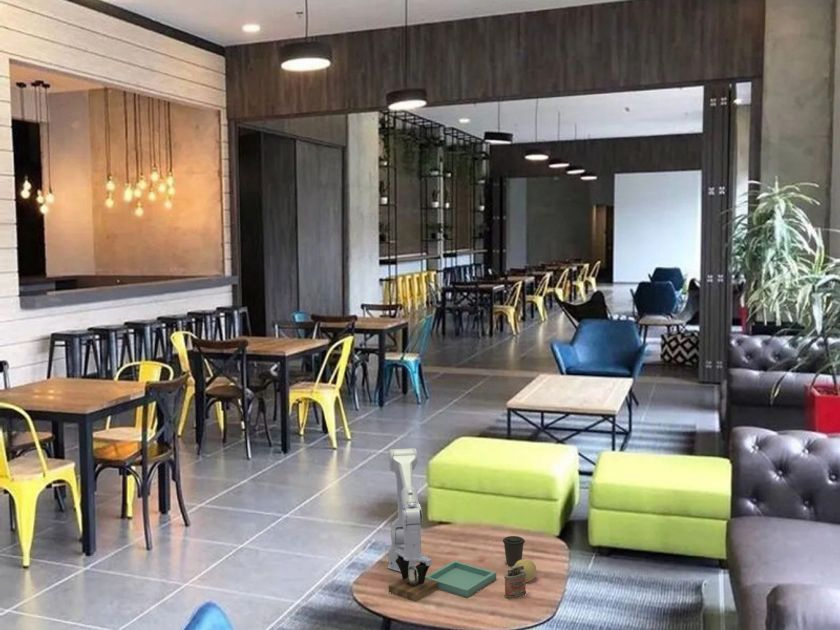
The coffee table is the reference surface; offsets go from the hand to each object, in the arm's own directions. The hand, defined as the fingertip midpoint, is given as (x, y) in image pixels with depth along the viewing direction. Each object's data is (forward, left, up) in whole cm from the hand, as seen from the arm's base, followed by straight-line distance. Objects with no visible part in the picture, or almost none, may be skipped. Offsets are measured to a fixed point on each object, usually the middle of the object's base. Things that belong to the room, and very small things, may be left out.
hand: (413, 581), depth 279 cm
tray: (+9, +15, -3) cm, 18 cm away
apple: (+26, +30, -4) cm, 40 cm away
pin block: (0, 0, -3) cm, 3 cm away
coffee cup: (+16, +39, -4) cm, 42 cm away
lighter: (+30, +17, -4) cm, 35 cm away
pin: (0, 0, -3) cm, 3 cm away
